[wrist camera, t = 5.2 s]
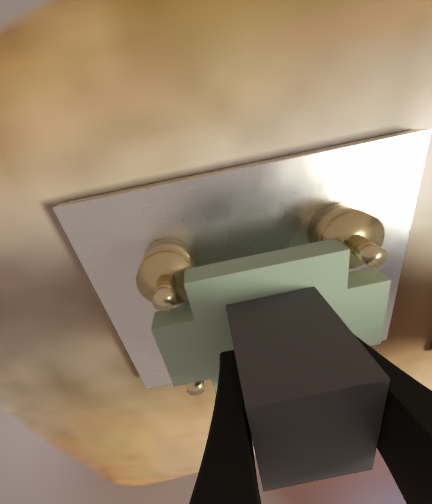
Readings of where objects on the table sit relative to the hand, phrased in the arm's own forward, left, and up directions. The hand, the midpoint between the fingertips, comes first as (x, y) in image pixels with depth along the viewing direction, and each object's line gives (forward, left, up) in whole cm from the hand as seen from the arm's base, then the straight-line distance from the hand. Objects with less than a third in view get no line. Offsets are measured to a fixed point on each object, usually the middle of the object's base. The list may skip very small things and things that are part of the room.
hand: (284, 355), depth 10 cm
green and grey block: (0, 0, -3) cm, 3 cm away
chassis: (0, 0, -6) cm, 6 cm away
